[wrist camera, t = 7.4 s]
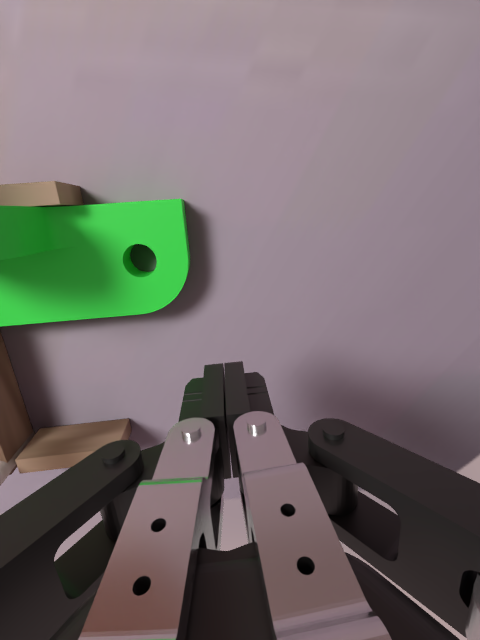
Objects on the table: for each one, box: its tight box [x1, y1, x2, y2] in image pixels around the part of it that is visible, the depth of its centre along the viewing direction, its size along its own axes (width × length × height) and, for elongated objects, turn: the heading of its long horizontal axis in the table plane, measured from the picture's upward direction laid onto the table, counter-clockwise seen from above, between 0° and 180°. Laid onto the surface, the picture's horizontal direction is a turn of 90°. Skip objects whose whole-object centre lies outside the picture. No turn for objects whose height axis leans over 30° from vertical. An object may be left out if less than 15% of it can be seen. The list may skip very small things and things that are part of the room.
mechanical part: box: [0, 199, 190, 326], centre depth 15 cm, size 12×6×8 cm, turn 94°
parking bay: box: [0, 181, 132, 485], centre depth 18 cm, size 8×16×5 cm, turn 4°
